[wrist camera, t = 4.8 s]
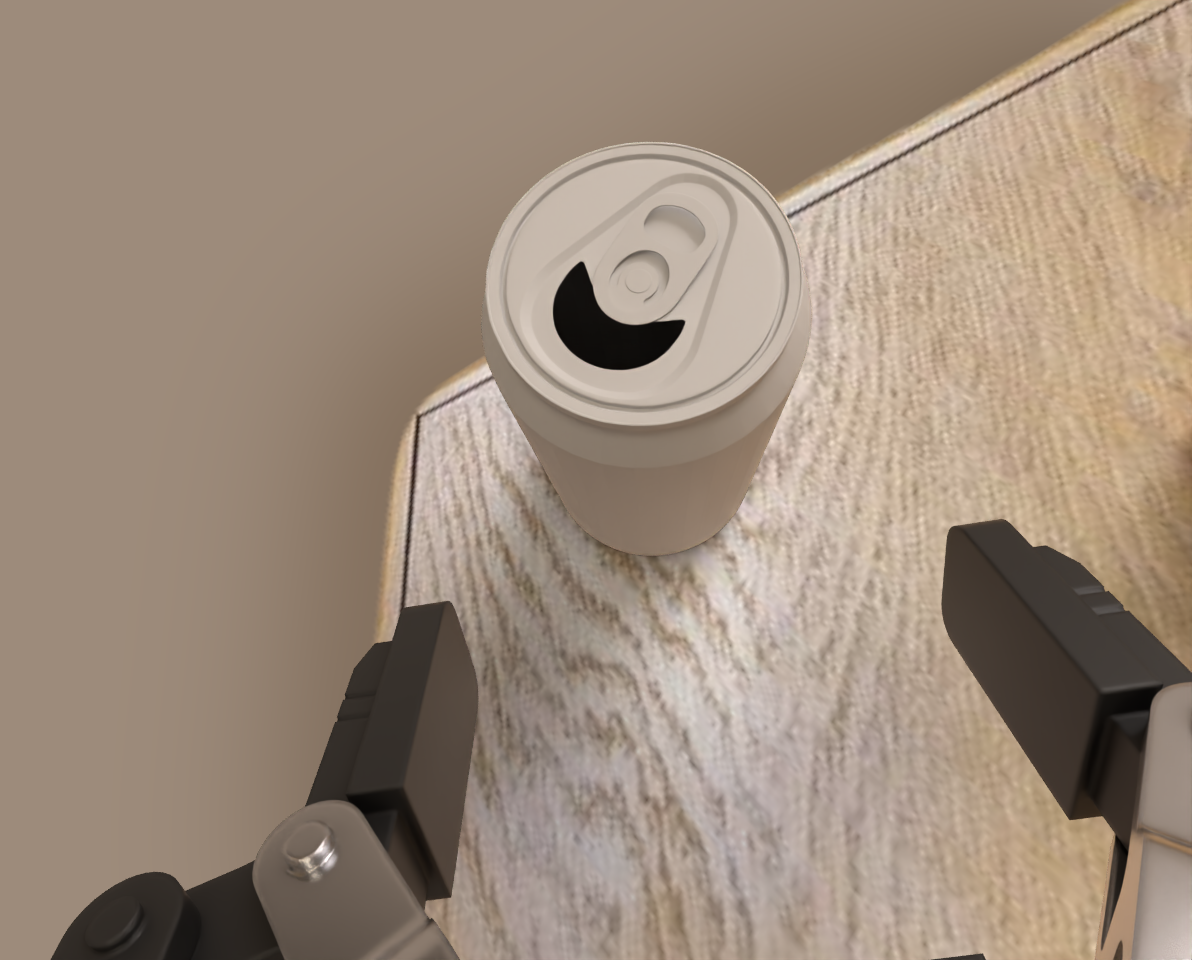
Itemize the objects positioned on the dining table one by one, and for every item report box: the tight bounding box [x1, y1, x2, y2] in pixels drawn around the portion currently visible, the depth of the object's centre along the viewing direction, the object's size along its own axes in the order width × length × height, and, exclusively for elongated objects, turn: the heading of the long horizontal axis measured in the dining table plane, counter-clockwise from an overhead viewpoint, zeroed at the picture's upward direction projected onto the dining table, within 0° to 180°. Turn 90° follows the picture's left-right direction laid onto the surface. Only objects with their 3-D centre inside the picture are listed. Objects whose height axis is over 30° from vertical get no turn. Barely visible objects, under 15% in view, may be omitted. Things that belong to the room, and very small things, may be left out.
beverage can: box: [481, 142, 812, 556], centre depth 19 cm, size 6×6×12 cm
